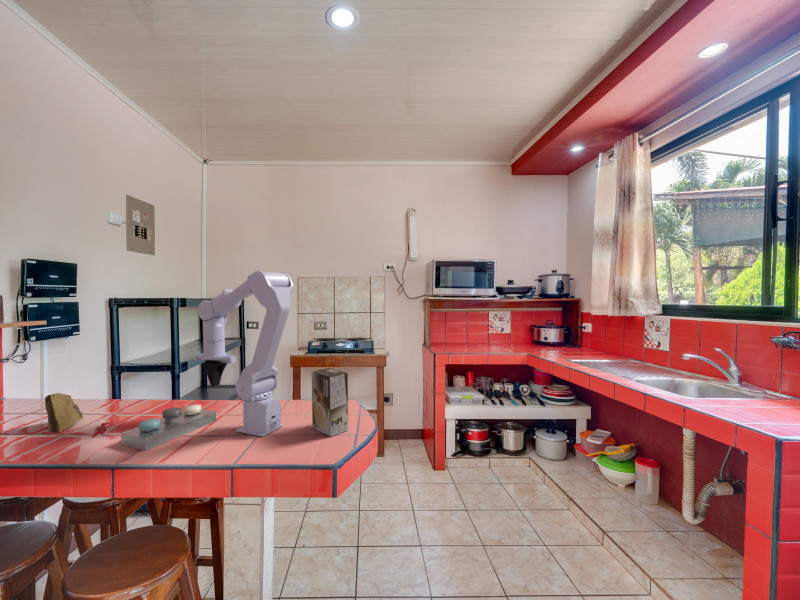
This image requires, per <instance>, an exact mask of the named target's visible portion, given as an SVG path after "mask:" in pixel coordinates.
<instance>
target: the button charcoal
mask: <svg viewBox="0 0 800 600" xmlns="http://www.w3.org/2000/svg"><path fill="white" fill-rule="evenodd" d="M182 410H183V409H182V407H170V408H166V409H164V410H162V411H161V412H162V418H164V419H165V423H169V424H172V423H175V422H177V421H180V416H181V415H182Z"/></svg>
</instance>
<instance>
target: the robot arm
mask: <svg viewBox="0 0 800 600" xmlns="http://www.w3.org/2000/svg"><path fill="white" fill-rule="evenodd" d="M294 286H295V285H294V282H293V281H292V279H291V277H290V275H289V274H288V273H286V272H283V271H282V272H274V271H273V272H271V271H260V270H256V271H253V272H252V273H250V274H249V275H247V279H246V280H244V281H243V282H242V283H241V284H240V285H239V286H237V287H236V288H235V289H230V288H227V289H223V290H222V291H221V292H222V293H220V294H218V295H215V296H213V298H212V299H211V300H202V301H201V302H200V303H199V304H198V306H197V313H198V316H199V318H200V319H201V320H202V337H203V338H202V339H203V353H202V352H201V353H200V352H199V353H195V354H193V361H194V362H195V361H197V362H198V361H203V362H204V363H201V368H202V369H203V370H204V372H205V373H206V375H207V378H208V381H209V384H210V387H218V386H219V385H220V384H221V381H222V380H221V379H222V376H223V374H224V371H225V369H226V367H227V365H228V364H229V365H230V364H235V363H237V356H236V355H232V354H228V353H227V352H226V338H225V337H226V336H225V335H226V333H225V331H226V329H225V325H226V324H227V318H228V317H229V313H231V312H232V311H234V310H236V309H237V308H239V307H240V306H241V304H242V301H243V300H244V299H247V298H248V297H251V296H254V298H256V300H257V301H258V303H259V304H260V305H261V306H262V307H264V308H265V310H266V311H265V315H264V319H263V322H262V324H261V329H260V332H259V335H258V339H257V343H256V346H255V350H254V354H253V357H252V359H251V363H250V364H248V366H246V367H245V368H244V369H242V370H241V374H240V375H239V377H238V378H237V380H236V382H235V391H236V394H237V396H238V398H240V400H242V419H243V426H241V427H239V428H237V429H236V430H235V431H236V433H237V432H238V433H243V434H246V435H247V434H249V435H253V436H257V437H258V436H259V437H265V436H267V435H268V434H271V433H272V432H274V431H276V430H278V429H279V428H281V427H283V426H284V424H283V423H282V421H281V418H282V417H281V415H282V414H281V413H282V411H281V404H280V401H279V400H278V399H275V398H273V397H272V395H273V394H274V391H275V390H276V388H277V385H278V373H279V371H278V369H277V367H275V366H274V363H275V360H276V358H277V357H276V356H277V352H278V350H279V347H280V343H281V340H282V336H283V333H284V330H285V326H286V323H287V320H288V317H289V313H290V310H291V309H290V308H291V297H292V293H293V290H294Z"/></svg>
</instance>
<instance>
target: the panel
mask: <svg viewBox="0 0 800 600" xmlns="http://www.w3.org/2000/svg"><path fill="white" fill-rule="evenodd" d="M215 422H217V411H215V410H211V409H205V408H201V412H199V414H196V415H194V416H187V415H185V414H184V413H183V411H182V415H181V416H180V421H177V422H175V423H172V424H169V423H165V419H164V418H163V417H162V418H160V427H159V428H158V429H156V430H153V431H151V432H148V433H147V432H143V431H140V430H139V426H138V427H134V428H132V429H128V430H125V431H124V432H121V435H120V436H121V437H120V438H121V439H120V440H121V441H120V443H121V444H122V445H121V446H124V445H125V447H128V448H132V447H133V448H134V449H137V448H138V449H137V450H142V451H144V452H145V451H149V450H151V449H153V447H154V448H156V447H158V446H160V445H162V444H165V443H168V442H171V441H173V440H175V439H178V438H179V437H181V436H184V435H187V434H189V433H191V432H194V431H196V430H199V429H201V428H204V427H205V426H207V425H210V424H213V423H215ZM172 439H173V440H172ZM167 441H168V442H167ZM148 449H149V450H148Z"/></svg>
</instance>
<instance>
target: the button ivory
mask: <svg viewBox="0 0 800 600" xmlns="http://www.w3.org/2000/svg"><path fill="white" fill-rule="evenodd" d="M201 409H202V404H196V403H195V404H191V405H187V406H186V405H185V406H184V407H183V409H182V410H183V413H184V414H185V415H187V416H194V415H196V414H199V412H201Z"/></svg>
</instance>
